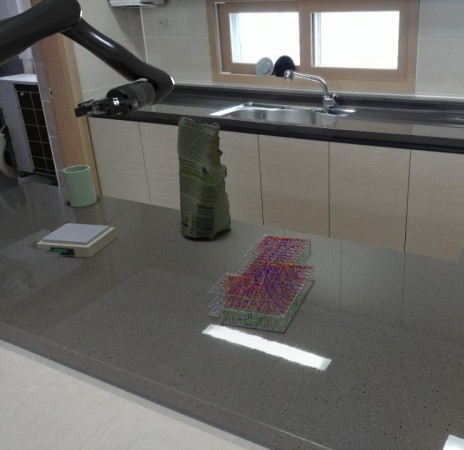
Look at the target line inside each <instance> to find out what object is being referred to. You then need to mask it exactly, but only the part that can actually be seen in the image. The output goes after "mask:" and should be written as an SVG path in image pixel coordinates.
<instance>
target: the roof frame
mask: <svg viewBox="0 0 464 450" xmlns="http://www.w3.org/2000/svg"><path fill="white" fill-rule="evenodd" d="M293 249H294V250H293ZM291 251H292V252H291ZM287 253H288V254H289V255H288V254H287ZM311 253H312V239H311V238H310V239H309V238H300V237H299V238H298V237H297V238H296V237H285V236H278V235H277V236H274V235H271V234H264V233H263V234H262V235H261V236H260V237H259V239H258V240H257V241H256V242H255V243H254V244H253V246H251V248H249V250H248V251H247V252H246V253H245V254H244V255H243V258H244V259H248V260H246V262H245V263H244V264H243V265H242V266H241V267H240V269H239V270H238V271H237V272H236V273H234V272H225V273H224V274H223V275H222V276H221V277H220V278H219V280H218V281H217V282H215V284H214V285H213V286H212V287H211V288H210V290H209V291H208V292H207V293H208V294H212V295H216V297H215V298H214V299H213V300H212V301H210V303H209V304H208V306H207V308H209V309H212V310H210V312H209V313H208V316H211V317H217V318H220V321H221V324H226V325H227V324H228V325H235V326H241V327H247V328H248V327H249V328H255V329H260V330H261V329H262V330H267V331H275V332H282V333H284V332H285V331H286V330H287V328H288V326H289V325H290V323H291V321H292V319H293V317H294V316H295V314H296V312H297V311H298V309H299V307H300V306H301V304H302V293H301V292H302V291H303V290H304V288H305V286H306V285H307V283H308V281H309V279H310V278H311V277H312V275H313V273H314V271H315V270H316V266H315V265H308V264H306V265H305V262H306V261H307V259H308V258H309V256H310V255H311ZM251 259H252V260H251ZM301 260H302V261H301ZM306 272H307V273H308V274H307V273H306ZM298 273H299V274H298ZM301 274H302V275H301ZM304 276H305V277H306V278H305V277H304ZM293 280H295V281H293ZM300 284H301V285H300ZM274 285H276V286H274ZM297 287H299V288H297ZM214 291H215V292H214ZM278 291H279V292H278ZM217 292H218V293H217ZM280 292H281V293H280ZM266 295H267V296H266ZM279 296H281V297H280V298H279ZM270 298H271V300H272V301H271V300H268V299H270ZM275 300H277V301H275ZM280 301H281V302H280ZM286 301H287V302H286ZM288 302H291V303H288ZM270 303H271V305H270ZM296 303H298V305H297V306H296ZM274 304H276V306H275V307H274ZM284 305H287V306H288V307H286V306H284ZM230 307H231V309H230ZM234 308H236V309H234ZM216 309H217V310H216ZM241 309H242V310H241ZM282 309H283V310H284V309H285V310H286V311H283V310H282ZM213 311H214V312H213ZM266 311H267V312H271V314H270V315H269V314H265V313H266ZM278 312H279V314H280V315H278V316H277V313H278ZM216 313H217V314H216ZM273 313H274V315H272V314H273ZM288 314H289V315H291V317H289V320H288V321H287V318H286V316H287V315H288ZM231 315H232V316H231ZM238 315H239V316H238ZM245 316H246V319H245ZM265 316H266V317H265ZM232 317H233V319H232ZM268 317H271V318H269V320H267V318H268ZM240 319H241V322H242V324H241V323H240ZM261 319H262V323H263V325H264V326H260V325H259V321H260V320H261ZM264 319H265V320H266V321H265V320H264ZM225 320H226V321H225ZM233 320H234V323H233ZM271 320H278V322H282V323H278V326H282V328H275V325H274V324H275V323H274V321H272V322H271ZM236 322H238V323H236ZM250 324H252V325H250ZM265 324H266V325H265ZM268 325H269V326H268ZM269 327H270V328H269Z"/></svg>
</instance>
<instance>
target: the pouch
mask: <svg viewBox="0 0 464 450" xmlns="http://www.w3.org/2000/svg"><path fill="white" fill-rule="evenodd" d="M200 122H201V121H200V117H198V118H197V120H193V119H192V118H190V117H187V116H182V117H179V120H178V121H177V125H178V126H177V127H178V129H177V143H176V145H177V146H176V150H177V157H178V167H179V168H178V178H179V209H180V221H181V226H180V228H181V233H182V234H183V235H184V236H185V237H188V238H193V239H195V238H208V239H210V240H213V238H214V237H215V236H216V235H217V234H218V233H220V232H223V231H225V230H232V227H231V225H232V222H231V221H232V218H231V212H230V207H231V206H230V200H229V195H228V193H227V191H226V180H225V179H226V178H227V177H228V172H227V170H228V168H227V166H226V165H225V164H222V161H221V156H223V153H224V151H223V150H221V149H220V140H221V137H220V136H219V135H220V130H221V125H220V124H218V123H217V122H212V123H210V124H209V123H207V122H204V123H200Z"/></svg>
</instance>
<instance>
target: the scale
mask: <svg viewBox="0 0 464 450" xmlns="http://www.w3.org/2000/svg"><path fill="white" fill-rule="evenodd" d="M117 238H118V236H117V231H116V227H114V226H113V227H111V226H110V225H103V224H102V225H101V224H87V223H70V222H67V223H65V224H63V225H61V226H60V227H59V228H56V229H55V230H54V231H52V232H51V233H48V234H47V235H46V236H44V237H42V238H41V240H40V241H38V242H37V243H36V248H37V249H38V250H47V251H51V252H60V253H58V255H63V256H62V257H71V256H73V257H72V258H83V257H84V258H85V259H91V258H93V256H95V255H97V253H99V252H100V251H102V250H103V249H104V248H106V247H107V246H108V245H110V244H111V243H112V242H113V241H114V240H116V239H117ZM74 256H75V257H74Z"/></svg>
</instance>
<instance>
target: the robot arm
mask: <svg viewBox="0 0 464 450" xmlns="http://www.w3.org/2000/svg"><path fill="white" fill-rule="evenodd" d="M82 14H83V13H82V6H81V3H80V1H79V0H41V1H39V2H38V3H36V4H34V5H33V6H31V7H29V8H27V9H26V10H24V11H22V12H20V13H18V14H15V15H12V16H9V17H7V18H3V19H0V67H1V66H2V65H4V64H6V63H8V62H10V61H12V60H13V59H14V58H16V57H18V56H19V55H22V53H24V52H25V51H27V50H28V49H30V48H31V47H33V46H34V45H35V44H38V43H39V42H41V41H43V40H45V39H47V38H49V37H52V36H55V35H57V34H60V35H62V36H64V37H66V38H68V39H70V40H71V41H73V42H74V43H75V44H77V45H79V46H81V47H82V48H84V50H87V51H88V52H90V53H91V54H92V55H93V56H95V57H96V58H97V59H99V60H100V61H101V62H103V63H104V64H105V65H107V66H108V67H109V68H111V70H113V71H114V72H116V73H117V74H118V75H120V76H121V77H122V78H123V79H125V80H126V81H128V82H130V83H125V84H122V85H119V86H116V87H113V88H110V89H109V90H107V92H106V94H105V97H101V98H99V99H93V98H91V99H88V100H86V101H82V102H79V103H77V107H75V108H74V109H73V112H74V115H75V118H81V117H84V116H88V115H91V114H93V115H96V116H97V115H102V114H105V117H106V118H111V117H114V116H116V117H119V118H122V117H127V116H128V115H131V114H133V113H135V112H137V111H139V110H141V109H142V108H144V107H148V106H150V107H151V106H152V107H153V106H155V105H157V104H159V103H160V102H161V101H163V100H164V98H166V97H167V96H168V95H169V94H170V93H171V92H172V91H173V90H174V89H175V82H174V79H173V78H172V76H171V75H170V74H169V73H168V72H167V71H165V70H163V69H161V68H159V67H157V66H154V65H152V64H150V63H148V62H145V61H143V60H142V59H141V58H139V57H138V56H136V54H134V53H133V52H132V51H131V50H129V49H128V48H127V47H125V46H124V45H123V44H121V43H120V42H118V41H116V40H114V39H112V38H111V37H110V36H108V35H106V34H104V33H103V32H102V31H100V30H98V29H97V28H95V27H94V26H93V25H91V24H90V23H89V22H88V21H86V19H84V17H82ZM142 79H143V80H142ZM144 79H145V80H144ZM97 108H98V110H97Z"/></svg>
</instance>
